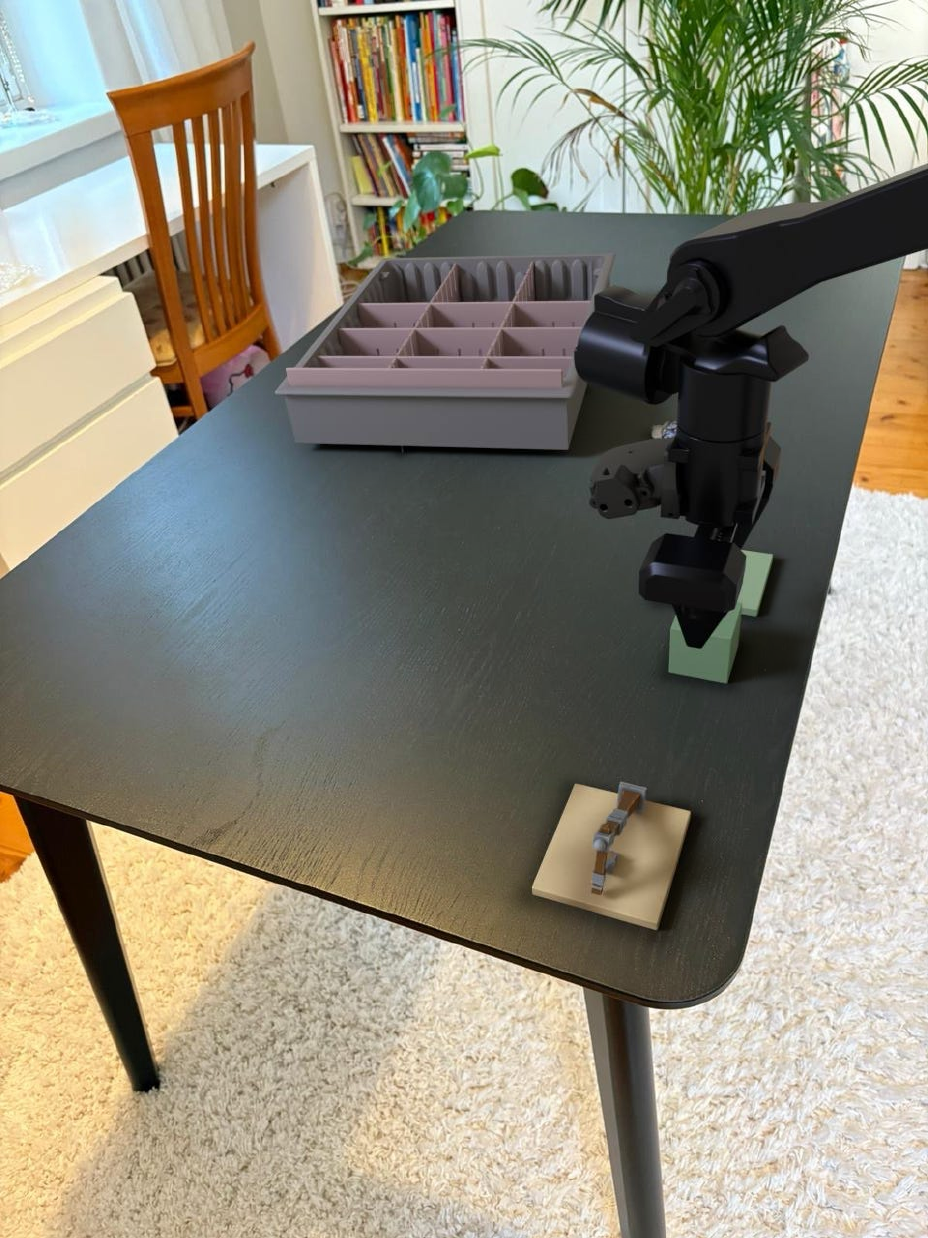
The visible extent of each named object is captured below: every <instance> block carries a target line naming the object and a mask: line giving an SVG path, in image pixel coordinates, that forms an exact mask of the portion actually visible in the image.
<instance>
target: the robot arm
mask: <svg viewBox="0 0 928 1238" xmlns="http://www.w3.org/2000/svg"><path fill="white" fill-rule="evenodd" d="M925 250H928V162H927V163H924V164H922V165H920V166H917V167H914V168H911V169H909V170H907V171H904V172H901V173H899V174H896V175H893V176H891V177H888V178H885V179H883V180H880V181H878V182H875V183H872V184H871V185H867V186H866V187H863V188H860V189H858V190H855V191H853V192H850V193H847V194H845V195H842V196H839V197H837V198H831V199H826V200H821V201H806V202H805V201H803V202H801V201H799V202H798V201H797V202H790V203H783V204H779V205H773V206H767V207H761V208H757V209H752V210H748V211H745V212H743V213H741V214H738V215H737V216H735V217H732V218H730V219H729V220H727V221H725V222H722V223H721V224H719V225H716V226H714V227H712V228H710V229H708V230H706V231H704V232H702V233H700V234H698V235H696V236H694V237H692V238H689V239H688V240H686V241H684V242H683V243H681V244H680V245H678V246H677V247H675V249H674V250H673V251H672V252H671V253H670V254H669V263H668V266H667V270H666V282H665V283H664V285H663V286H662V288H661V289H660V291H658V292H657V294H656V295H655V296H654V297H651V296H647V295H643V294H639V293H636V292H634V291H633V290H631V289H630V288H627V287H624V286H619V285H615V284H613V285H612V286H611V285H610V287H609V288H607V289H605V290H603V291H601V292H599V293H597V294H596V295H595V296H594V311H593V313H592V314H591V315H590V317H589V318H588V319H587V321H586V323H585V325H584V327H583V329H582V331H581V334H580V337H579V340H578V346H577V347H576V348H575V350H574V362H575V368H576V371H577V373H578V375H579V377H580V378H581V379H582V380H583V381H584V382H586V383H587V385H592V386H595V387H597V388H601V389H604V390H606V391H609V392H611V393H615V394H618V395H621V396H624V397H627V398H629V399H632V400H636V401H639V402H642V403H644V404H648V405H653V406H656V405H660V404H663V403H664V402H666V401H667V400H668V399H670V398H671V397H672V395H675V394H677V409H676V410H677V414H676V415H677V416H676V419H677V428H676V435H675V437H670V438H664V439H663V438H655V439H654V438H651V439H650V438H649V439H647V440H641V441H637V442H631V443H627V444H623V445H619V446H615V447H613V448H610V449H609V450H606V451H605V452H604V453H603V454H602V455H601V457H600V459H599V460H598V462H597V464H596V466H595V467H594V469H593V470H592V472H591V474H590V476H589V480H590V483H589V485H588V488H589V491H590V499H589V501H588V503H589V505H590V507H591V508H593V509H595V510H597V512H598V514H599V515H600V517H603V518H604V519H606V520H613V519H618V518H624V517H629V516H635V515H636V514H637V512H639V511H645V510H651V509H654V508H658V507H659V506H660V518H665V519H672V520H679V519H680V518H681V517H685V518H684V519H685V521H686V522H688V523H690V524H693V525H696V526H697V528H696V530H695V533H694V534H693V535H694V536H691V535H684V534H675V533H670V532H669V533H668V532H665V533H664V534H662V535H660V536H659V537H658V538H656V539H655V540H653V541H652V542H651V544H650V546H649V548H648V551H647V553H646V555H645V557H644V558H643V561H642V564H641V566H640V569H639V571H638V594H639V596H641V598H643V600H644V601H648V602H655V603H660V604H666V605H667V604H668V605H671V607H672V609H673V611H674V613H675V615H676V617H677V619H678V622H679V625H680V628H681V631H682V634H683V637H684V640H685V643H686V645H687V646H688V647H691V648H697V649H702V648H703V646H704V645H705V643H706V642H707V641H708V639H709V638H710V636H711V635H712V634H713V632H714V631H715V629H716V628H717V626H718V625H719V624H720V622H721V621H722V620H723V618H724V617H725V616H726V615H727V613H728V612H729V611H731V610H734V609H735V607H736V603H737V600H738V597H739V594H740V591H741V588H742V584H743V579H744V573H745V567H746V557H747V556H746V555H745V554H744V553H743V552H742V551H741V550H743V547H744V545H745V544H746V542H747V540H748V538H749V537H750V535H751V533H752V531H753V529H754V528H755V526H756V524H757V522H758V521H759V519H760V518H761V515H762V514H763V512H764V510H765V509H766V506H767V505H768V504H769V501H770V499H771V495H772V492H773V489H774V486H775V483H776V479H777V477H778V474H779V470H780V463H781V456H782V455H781V454H782V447H781V445H780V444H779V443H778V442H777V441H776V440H775V439H774V438H773V437H772V436H771V431H772V429H771V428H772V422H771V421H769V410H770V401H771V390H772V383H777V382H779V381H780V380H781V379H783V378H784V377H786V376H787V375H789V374H790V373H792V372H793V371H795V370H796V369H798V368H799V367H802V366H803V365H804V364H806V363H807V362H808V361H809V359H810V353H809V352H808V351H807V350H806V349H805V348H804V347H803V345H802V344H801V343H800V342H799V341H797V340H795V339H794V337H792V336H791V334H790V333H789V331H788V329H787V327H786V326H785V325H784V324H779V325H777V326H776V327H774V328H772V329H770V330H769V331H767V332H766V333H765V332H760V331H756V330H753V329H749V328H745V327H742V326H744V325H746V324H748V323H749V322H751V321H754V320H755V319H757V318H759V317H760V316H762V315H764V314H766V313H767V312H770V311H771V310H773V309H775V308H777V307H778V306H781V305H783V304H784V303H786V302H788V301H789V300H791V299H793V298H795V297H797V296H799V295H801V294H802V293H804V292H806V291H808V290H810V289H811V288H813V287H816V285H819V284H820V283H823V282H827V281H830V280H833V279H836V278H839V277H842V276H845V275H848V274H852V273H855V272H859V271H861V270H864V269H868V268H871V267H875V266H878V265H881V264H884V263H887V262H890V261H893V260H897V259H901V258H903V257H907V256H910V255H913V254H917V253H919V252H922V251H925ZM763 472H765V473H764V475H763Z"/></svg>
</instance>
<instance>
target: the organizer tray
mask: <svg viewBox="0 0 928 1238" xmlns="http://www.w3.org/2000/svg"><path fill="white" fill-rule="evenodd" d="M615 260H616V254H615V253H613V252H611V253H610V252H609V253H569V254H568V253H567V254H564V253H563V254H527V255H526V254H522V255H521V254H520V255H486V256H485V255H478V256H477V255H476V256H475V255H474V256H435V257H434V256H433V257H430V256H429V257H428V256H427V257H391V258H390V257H389V258H388V257H387V258H381V259H380V260H379V262H378V263H377V264H376V265H375V266H374V267H373V269H372V270H371V271H370V273H368V275H367V277H366V278H365V279H363V281H362V283H360V285H359V286H358V288H357V289H356V290H355V292H353V294H352V295H351V296H350V297H349V299H348V300H347V301H346V302H345V303H344V304H343V306H342V307H341V309H340V310H339V311H338V312H337V313H336V315H335V316H334V317H333V319H332V320H330V322H329V324H327V326H326V327H325V329H323V331H322V332H321V334H320V335H319V336H318V337H317V339H316V340H315V341H314V342H313V344H312V345H311V346H310V348H308V350H307V351H306V352H305V354H304V355H303V356H302V357H301V359H300V360H299V361H298V362H297V364H296V365H295V366H294V367H286V369H285V370H286V377H285V379H284V380H283V381H282V382H281V383H280V385H279V386H278V388H277V389H275V391H274V394H275V395H283V398H284V401H285V405H286V409H287V414H288V418H289V422H290V427H291V431H292V434H293V439H294V443H295V444H323V445H324V444H326V445H327V444H328V445H362V446H363V445H365V446H366V445H368V446H370V445H371V446H401V451H402V452H404V448H403V447H404V446H405V447H406V446H407V447H408V446H411V447H442V448H443V447H444V448H446V447H447V448H451V447H452V448H485V449H487V448H488V449H489V448H490V449H523V450H524V449H525V450H526V449H527V450H528V449H529V450H561V451H562V450H564V451H565V450H567V451H569V448H570V445H571V441H572V438H573V435H574V432H575V429H576V424H577V420H578V418H579V414H580V410H581V407H582V402H583V399H584V397H585V392H586V389H587V385H588V383H586V382H584V381H583V380H582V379H581V378H580V377H579V375H578V373H577V371H576V368H575V362H574V350H575V348H576V347H577V346H578V340H579V337H580V334H581V331H582V329H583V327H584V325H585V323H586V321H587V319H588V318H589V317H590V315H591V314H592V313H593V311H594V296H595V295H596V294H597V293H599V292H601V291H603V290H605V289H607V288H609V287H611V277H610V276H611V273H612V270H613V267H614V263H615Z"/></svg>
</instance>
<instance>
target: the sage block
mask: <svg viewBox="0 0 928 1238" xmlns="http://www.w3.org/2000/svg"><path fill="white" fill-rule="evenodd" d="M741 612H742V603H741V602H737V603H736V607H735V609H734V610H731V611H729V612H728V613H727V615H726V616H725V617H724V618H723V620H722V621H721V622H720V624H719V625H718V626H717V628H716V629H715V631H714V632H713V634H712V635H711V636H710V638H709V639H708V641H707V642H706V643H705V645H704V646H703V648H702V649H697V648H691V647H688V646H687V645H686V643H685V640H684V637H683V634H682V631H681V628H680V625H679V622H678V619H677V617H676V614H675V616H674V618H673V621H672V624H671V626H670V630H669V653H668V656H669V657H668V673H670V674H674V675H680V676H685V677H689V678H690V677H691V678H696V679H701V680H705V681H710V682H716V683H720V684H728V681H729V677H730V675H731V671H732V668H733V665H734V661H735V658H736V654H737V652H738V648H739V640H740V631H741V622H742V614H741Z"/></svg>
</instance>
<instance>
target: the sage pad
mask: <svg viewBox="0 0 928 1238" xmlns="http://www.w3.org/2000/svg"><path fill="white" fill-rule="evenodd" d="M741 551H742V552H743V553H744V554H745V555H746V556H747V557H746V567H745V573H744V579H743V584H742V588H741V591H740V594H739V597H738V600H737V602H741V603H742V612H741V616H742V615H743V616H750V617H758V614H759V610H760V606H761V603H762V600H763V596H764V593H765V590H766V586H767V583H768V579H769V576H770V572H771V569H772V565H773V562H774V561H773V560H774V554H773V553H766V552H759V551H751V550H745V549H741Z"/></svg>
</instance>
